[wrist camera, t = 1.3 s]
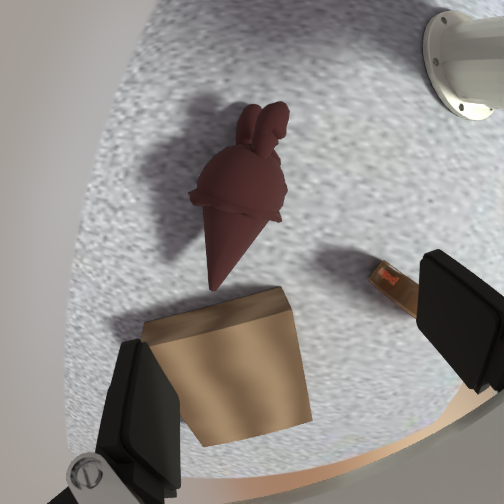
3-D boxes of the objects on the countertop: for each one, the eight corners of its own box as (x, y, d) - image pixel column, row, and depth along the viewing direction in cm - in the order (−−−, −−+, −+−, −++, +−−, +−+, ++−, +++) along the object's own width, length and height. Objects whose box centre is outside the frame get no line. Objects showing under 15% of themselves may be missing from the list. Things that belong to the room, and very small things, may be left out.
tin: (354, 269, 31) (395, 315, 23) (372, 244, 30) (419, 284, 23) (426, 317, 36) (462, 357, 29) (441, 299, 35) (480, 335, 28)
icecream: (272, 315, 24) (336, 120, 20) (177, 310, 20) (240, 79, 16) (237, 276, 30) (286, 118, 26) (160, 267, 26) (207, 90, 22)
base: (281, 286, 30) (291, 309, 27) (304, 397, 38) (312, 420, 34) (144, 322, 30) (138, 348, 26) (201, 423, 37) (203, 447, 34)
